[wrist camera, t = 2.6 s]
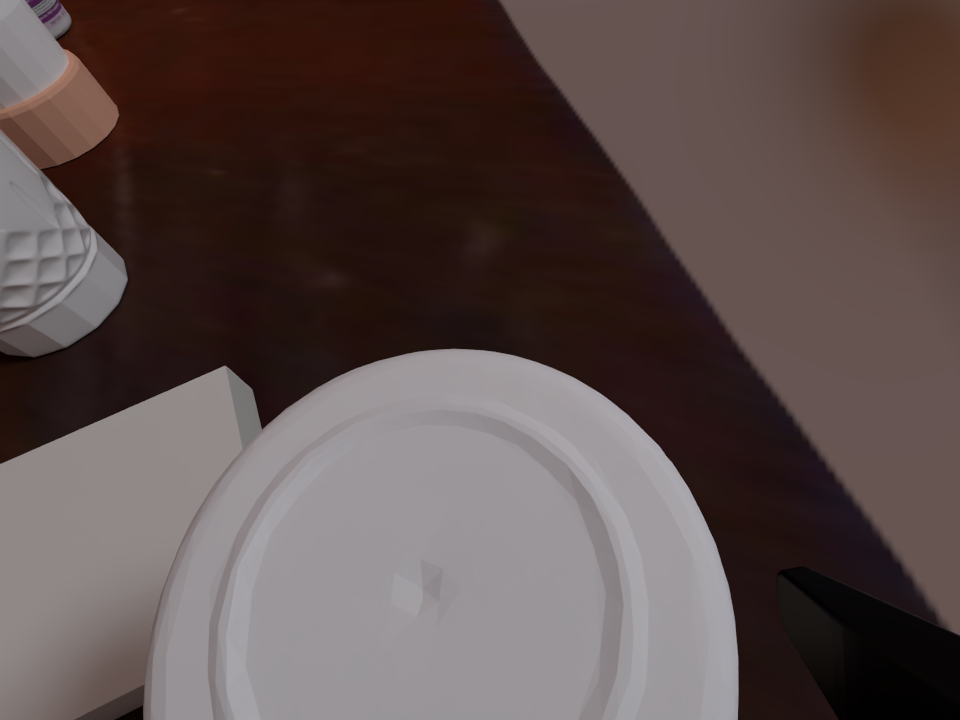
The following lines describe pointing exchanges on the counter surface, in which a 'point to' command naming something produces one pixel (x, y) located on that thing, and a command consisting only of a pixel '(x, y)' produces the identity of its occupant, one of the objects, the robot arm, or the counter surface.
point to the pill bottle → (51, 16)
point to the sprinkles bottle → (446, 561)
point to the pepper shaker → (47, 92)
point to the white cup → (48, 263)
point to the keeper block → (105, 545)
